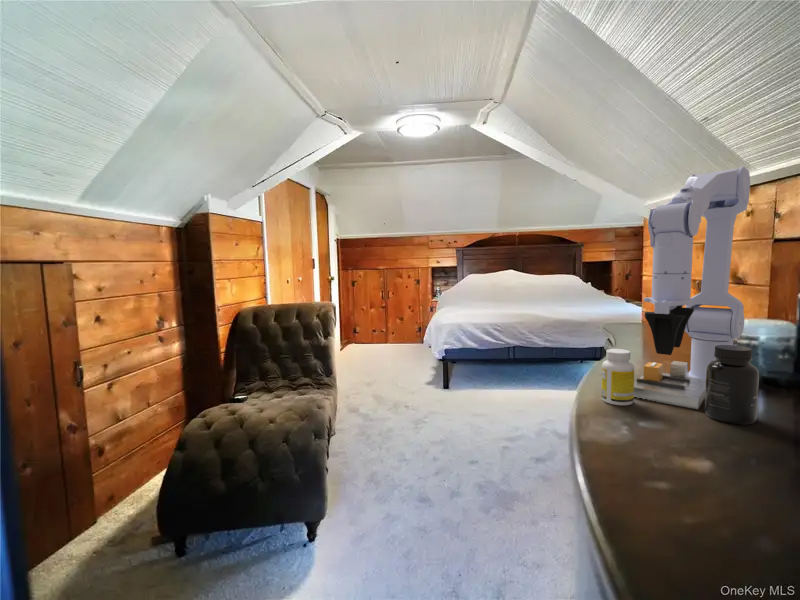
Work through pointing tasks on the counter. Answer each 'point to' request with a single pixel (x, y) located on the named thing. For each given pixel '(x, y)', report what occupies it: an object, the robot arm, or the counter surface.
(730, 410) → the supplement bottle
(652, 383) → the strip
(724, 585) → the counter surface
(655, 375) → the orange cuboid
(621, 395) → the supplement bottle
